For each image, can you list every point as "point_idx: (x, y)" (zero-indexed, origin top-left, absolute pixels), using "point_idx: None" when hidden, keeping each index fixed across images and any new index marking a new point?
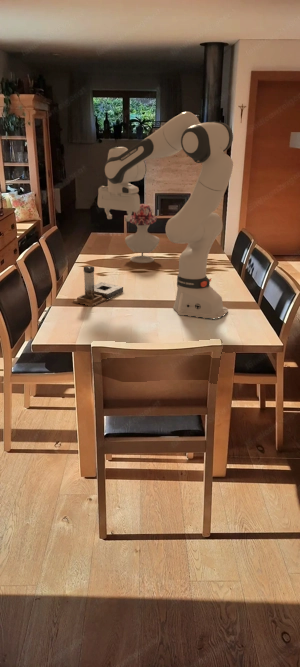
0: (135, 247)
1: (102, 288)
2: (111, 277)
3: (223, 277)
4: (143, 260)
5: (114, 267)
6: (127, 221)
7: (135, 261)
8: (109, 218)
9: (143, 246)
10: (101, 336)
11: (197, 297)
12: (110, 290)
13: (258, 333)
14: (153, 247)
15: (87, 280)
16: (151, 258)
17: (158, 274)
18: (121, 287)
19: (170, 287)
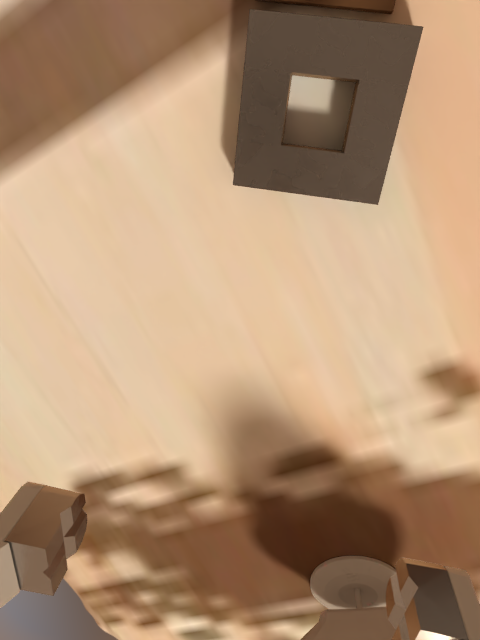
0: (385, 629)
1: (344, 145)
2: (388, 361)
3: (13, 488)
4: (340, 570)
5: (431, 484)
6: (43, 485)
7: (370, 560)
8: (411, 563)
9: (349, 636)
10: None
11: None
12: (264, 87)
13: None
14: (307, 636)
15: None
16: (321, 594)
17: (217, 456)
18: (235, 170)
19: (94, 332)
